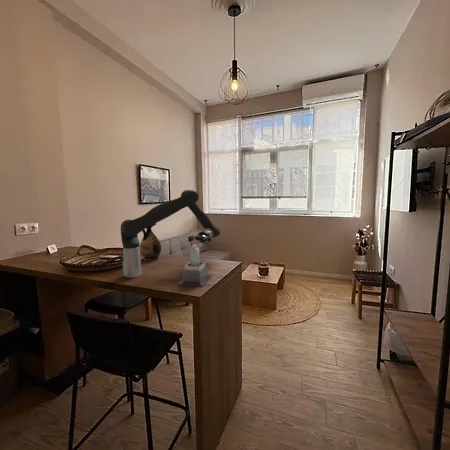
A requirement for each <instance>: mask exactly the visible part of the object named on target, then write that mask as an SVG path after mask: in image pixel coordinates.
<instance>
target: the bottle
mask: <svg viewBox="0 0 450 450" xmlns="http://www.w3.org/2000/svg"><path fill="white" fill-rule="evenodd" d="M199 249H200V248H199V247H197V244H191V248H189V260H190V261H189V262H190V266H200V263H199V262H200V250H199Z"/></svg>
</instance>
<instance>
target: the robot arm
mask: <svg viewBox="0 0 450 450" xmlns="http://www.w3.org/2000/svg"><path fill="white" fill-rule="evenodd" d="M199 197H200V195H199V193H198V192H197V191H196V190H193V189H185V190H183V191H182V192H181V194H180V196H179V197H177V198H175V199H171V200H168V201H165V202H161V203H159V204H158V205H156V206H153V207H152V208H151V209H150V210H149V211H147V212H146V213H145V214H143V215H141V216H140V217H137V218H134V219H125V220H123V221H122V222H121V223H120V236H121V237H120V238H121V243H122V253H123V259H122V271H123V272H122V273H123V277H126V278H128V279H130V278H138V277H140V276H142V262H141V261H142V260H141V259H142V258H141V253H140V243H141V242H140V240H139V236H138V234H140V233H141V232H142V231H143V230H147V227H149V226H151V225H153V224H155V223H156V224H157V223H159V222H161V221H163V220H165V219H167V218H169V217H171V216H172V215H175V214H176V213H178V212H179V211H181V210H182V209H185V208H187V207H188V208H189V210H190V211H191V212H192V214H193V215H194V216H195V218H196V219H197V220H198V222H199V224H200V225H201V227H202V228H203V229H204V230H202V231H200V232H198V234H197V235H193V234H191V235H190V236H188V237H187V241H188V242H189V243H191V242H195V243H196V242H199V243H200V244H207V242H208V243H210V242H212V241H213V239H214V238H217V237H218V236H220V235H221V231H220V229H219V227H218V226H217V225H215V224H214V223H213V222H212V221H211V219H210V217H209V216H208V214H206V212H205V211H204V210H203V209H202V208H201V207H200V206H199V205H198V203H197V202H198V201H199Z"/></svg>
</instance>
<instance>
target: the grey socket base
mask: <svg viewBox="0 0 450 450" xmlns="http://www.w3.org/2000/svg"><path fill="white" fill-rule="evenodd" d="M199 263H200V266H190V261H189V262H188V263H186V264H185V265H184V267H183V268H184V269H183V270H182V271H181V274H182V275H181V276H182V278H181V280H180V281H179V282H178V283H177V286H186V287H187V286H188V287H199V286H200V287H204V286H205V285H206V284H207V283H208V282H210V281H209V280H211V278H212V277H213V275H212V274H208V266H207V265H206V262H204V261H199ZM200 287H199V288H200Z"/></svg>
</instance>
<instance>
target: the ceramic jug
mask: <svg viewBox="0 0 450 450" xmlns="http://www.w3.org/2000/svg"><path fill="white" fill-rule="evenodd" d="M156 225H157V223H155V224H153V225H151V226H149V227H147V228H146V229H144V230H143V231H141V232H142V234H143V236H142V239H141V241H140V242H139V243H140V256H142V257H143V258H144V260H145V261H155V260H158V259H159V256H160V254H161V252H162V245H161V244H162V243H161V242H160V240H159V239H158V237H157V236H156V234H155V233H154V232H153V231H152V228H153V227H154V226H156Z"/></svg>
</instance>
